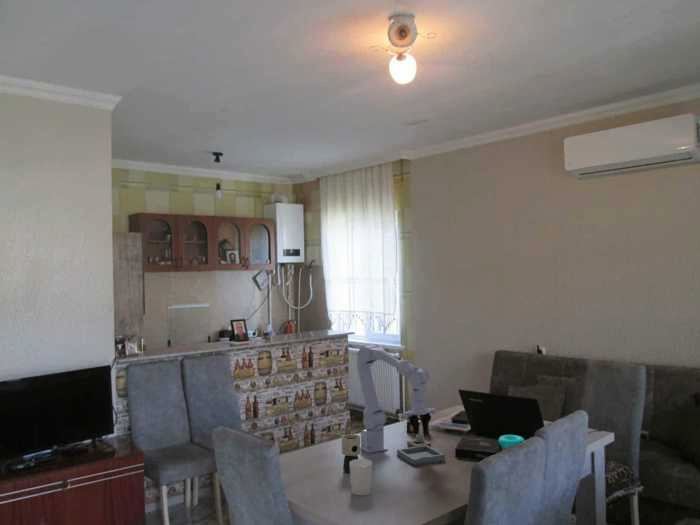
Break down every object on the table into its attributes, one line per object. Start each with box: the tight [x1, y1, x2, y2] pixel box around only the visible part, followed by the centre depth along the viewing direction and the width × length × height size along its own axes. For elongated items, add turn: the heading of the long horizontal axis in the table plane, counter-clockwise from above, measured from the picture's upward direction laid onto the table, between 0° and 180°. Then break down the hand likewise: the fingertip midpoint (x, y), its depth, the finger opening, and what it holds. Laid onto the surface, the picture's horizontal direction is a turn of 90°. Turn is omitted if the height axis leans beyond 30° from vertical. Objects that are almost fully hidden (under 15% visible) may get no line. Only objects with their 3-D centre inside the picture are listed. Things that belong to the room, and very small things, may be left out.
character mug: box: [341, 434, 361, 473], centre depth 211 cm, size 11×7×13 cm, turn 145°
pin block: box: [406, 439, 432, 448], centre depth 239 cm, size 8×8×2 cm
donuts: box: [498, 434, 526, 449], centre depth 216 cm, size 10×10×10 cm
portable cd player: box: [454, 437, 503, 461], centre depth 229 cm, size 16×17×4 cm
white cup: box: [349, 458, 373, 496], centre depth 190 cm, size 8×8×10 cm
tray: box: [396, 445, 446, 467], centre depth 224 cm, size 14×14×2 cm
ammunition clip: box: [406, 406, 430, 436], centre depth 259 cm, size 11×2×12 cm, turn 62°
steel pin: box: [415, 420, 425, 442], centre depth 224 cm, size 3×3×8 cm
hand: (420, 433), depth 224 cm, fingers closed on steel pin, 3 cm apart
